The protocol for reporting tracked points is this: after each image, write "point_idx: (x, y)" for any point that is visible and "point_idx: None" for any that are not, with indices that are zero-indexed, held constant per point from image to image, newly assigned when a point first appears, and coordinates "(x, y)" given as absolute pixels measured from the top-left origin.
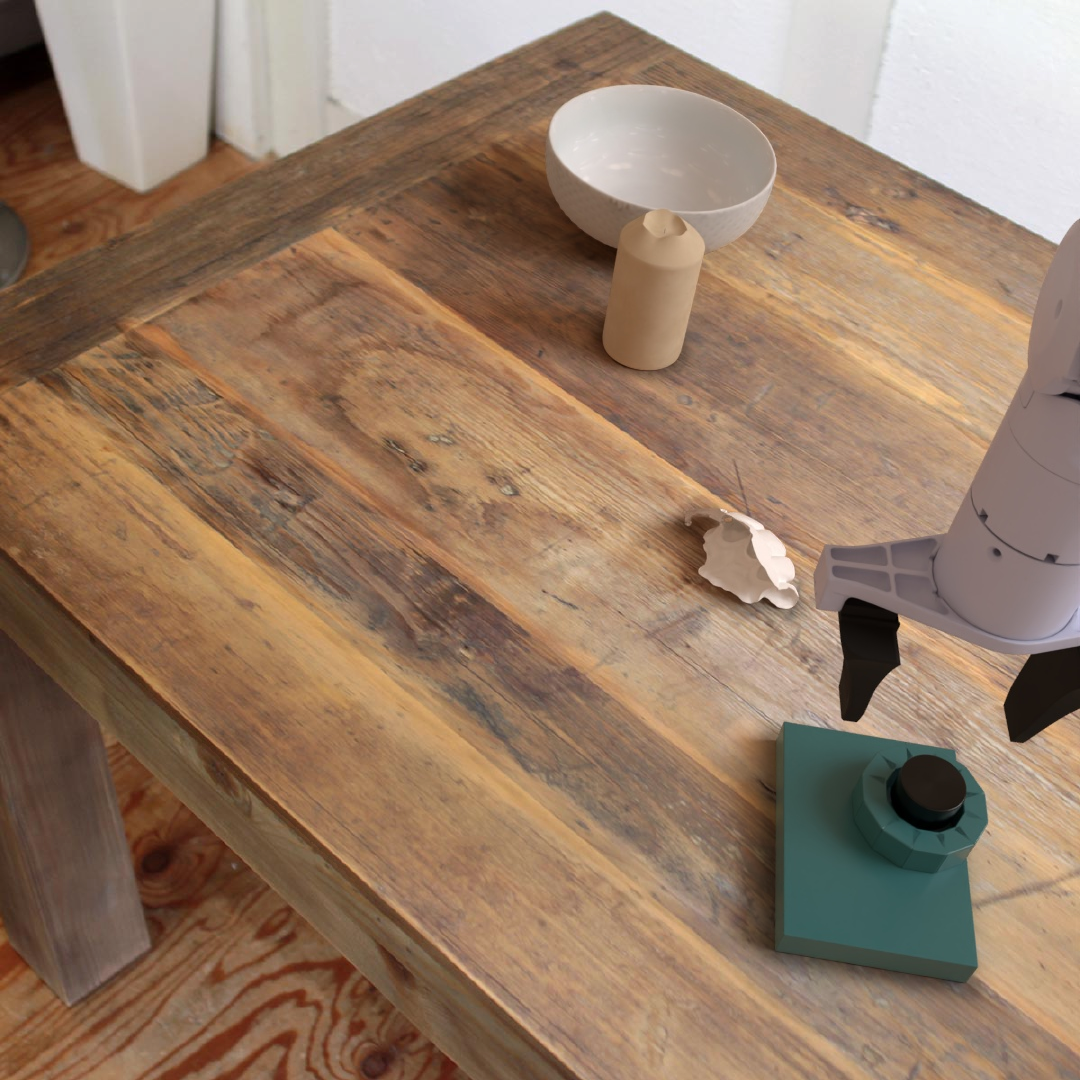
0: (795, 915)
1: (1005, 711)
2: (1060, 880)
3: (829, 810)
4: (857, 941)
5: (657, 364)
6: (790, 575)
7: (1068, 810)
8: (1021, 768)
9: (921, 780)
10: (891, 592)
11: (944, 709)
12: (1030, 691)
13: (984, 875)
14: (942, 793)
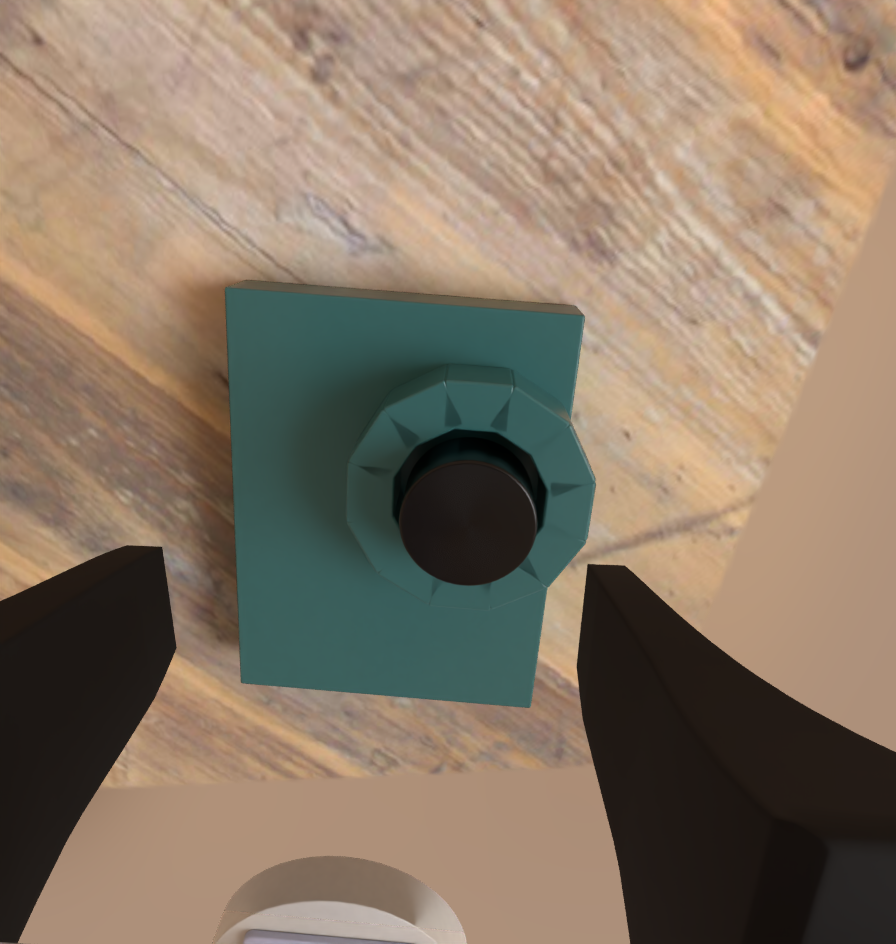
0: (258, 655)
1: (586, 588)
2: (731, 511)
3: (314, 480)
4: (350, 686)
5: None
6: None
7: (801, 373)
8: (738, 286)
9: (441, 525)
10: None
11: (610, 148)
12: (616, 722)
13: (598, 513)
14: (480, 550)
